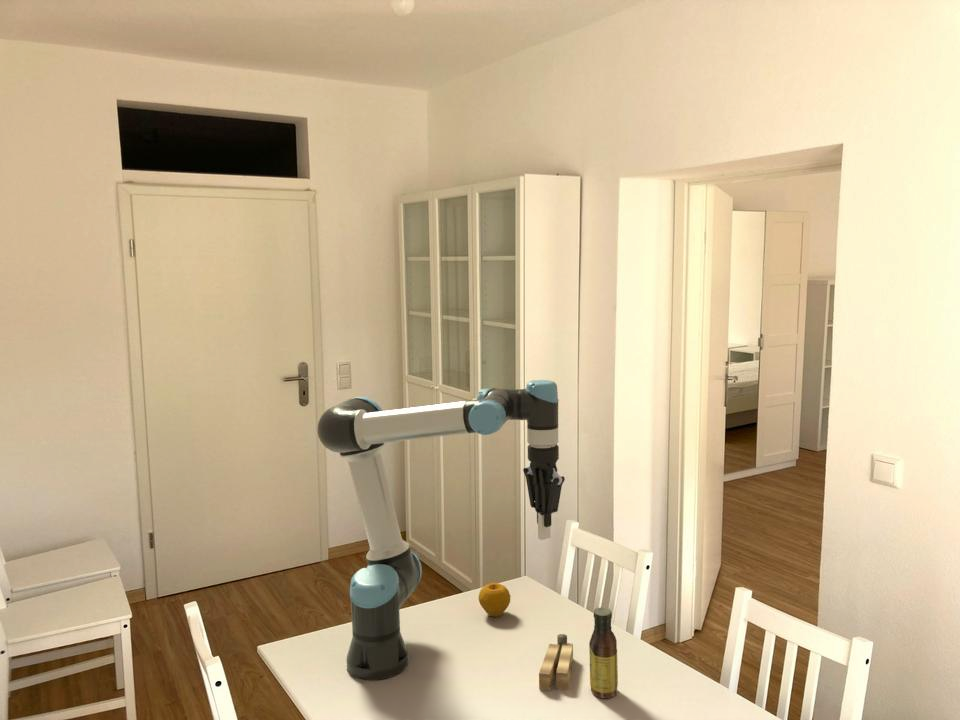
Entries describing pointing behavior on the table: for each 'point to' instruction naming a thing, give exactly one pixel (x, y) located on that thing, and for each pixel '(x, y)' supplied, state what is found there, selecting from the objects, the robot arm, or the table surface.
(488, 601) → the apple
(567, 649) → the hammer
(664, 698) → the table surface
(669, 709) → the table surface
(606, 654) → the sauce bottle
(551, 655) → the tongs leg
